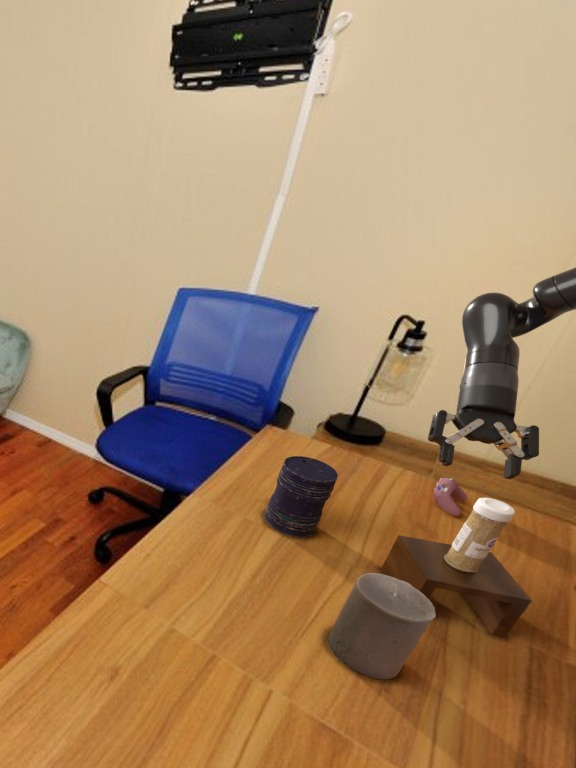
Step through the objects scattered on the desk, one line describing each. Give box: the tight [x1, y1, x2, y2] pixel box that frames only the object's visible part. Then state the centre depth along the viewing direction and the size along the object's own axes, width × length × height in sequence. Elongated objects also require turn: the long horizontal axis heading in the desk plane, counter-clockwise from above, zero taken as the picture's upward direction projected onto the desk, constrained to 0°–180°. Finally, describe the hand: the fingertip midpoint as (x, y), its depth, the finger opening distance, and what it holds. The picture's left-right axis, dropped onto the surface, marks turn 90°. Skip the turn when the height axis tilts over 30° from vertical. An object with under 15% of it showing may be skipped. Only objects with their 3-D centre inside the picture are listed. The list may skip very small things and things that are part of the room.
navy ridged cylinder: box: [264, 455, 339, 538], centre depth 111 cm, size 10×10×15 cm
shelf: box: [380, 534, 533, 638], centre depth 92 cm, size 14×12×9 cm
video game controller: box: [433, 477, 468, 517], centre depth 119 cm, size 10×5×7 cm, turn 130°
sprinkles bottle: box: [444, 497, 516, 573], centre depth 87 cm, size 5×5×14 cm
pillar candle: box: [327, 572, 437, 680], centre depth 82 cm, size 10×10×15 cm
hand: (477, 471), depth 93 cm, fingers open, 8 cm apart
